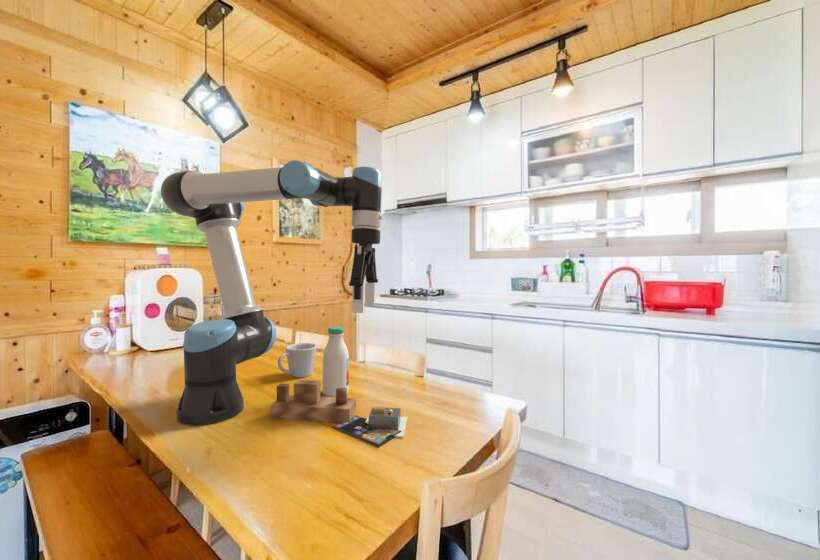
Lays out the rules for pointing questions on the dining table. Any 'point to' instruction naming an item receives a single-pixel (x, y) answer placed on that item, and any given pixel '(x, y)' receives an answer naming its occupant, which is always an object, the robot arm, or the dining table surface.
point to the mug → (299, 359)
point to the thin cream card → (401, 427)
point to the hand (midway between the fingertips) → (364, 309)
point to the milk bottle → (335, 363)
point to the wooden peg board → (312, 404)
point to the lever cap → (384, 418)
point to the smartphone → (366, 431)
